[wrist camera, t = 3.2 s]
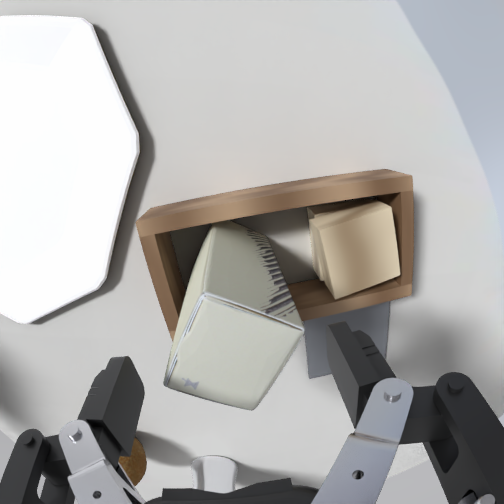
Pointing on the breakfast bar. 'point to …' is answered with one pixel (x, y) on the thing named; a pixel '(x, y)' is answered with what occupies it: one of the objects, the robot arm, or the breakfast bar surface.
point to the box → (233, 321)
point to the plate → (58, 163)
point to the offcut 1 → (319, 211)
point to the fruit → (134, 463)
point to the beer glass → (214, 474)
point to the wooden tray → (276, 199)
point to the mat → (363, 319)
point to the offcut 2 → (356, 247)
